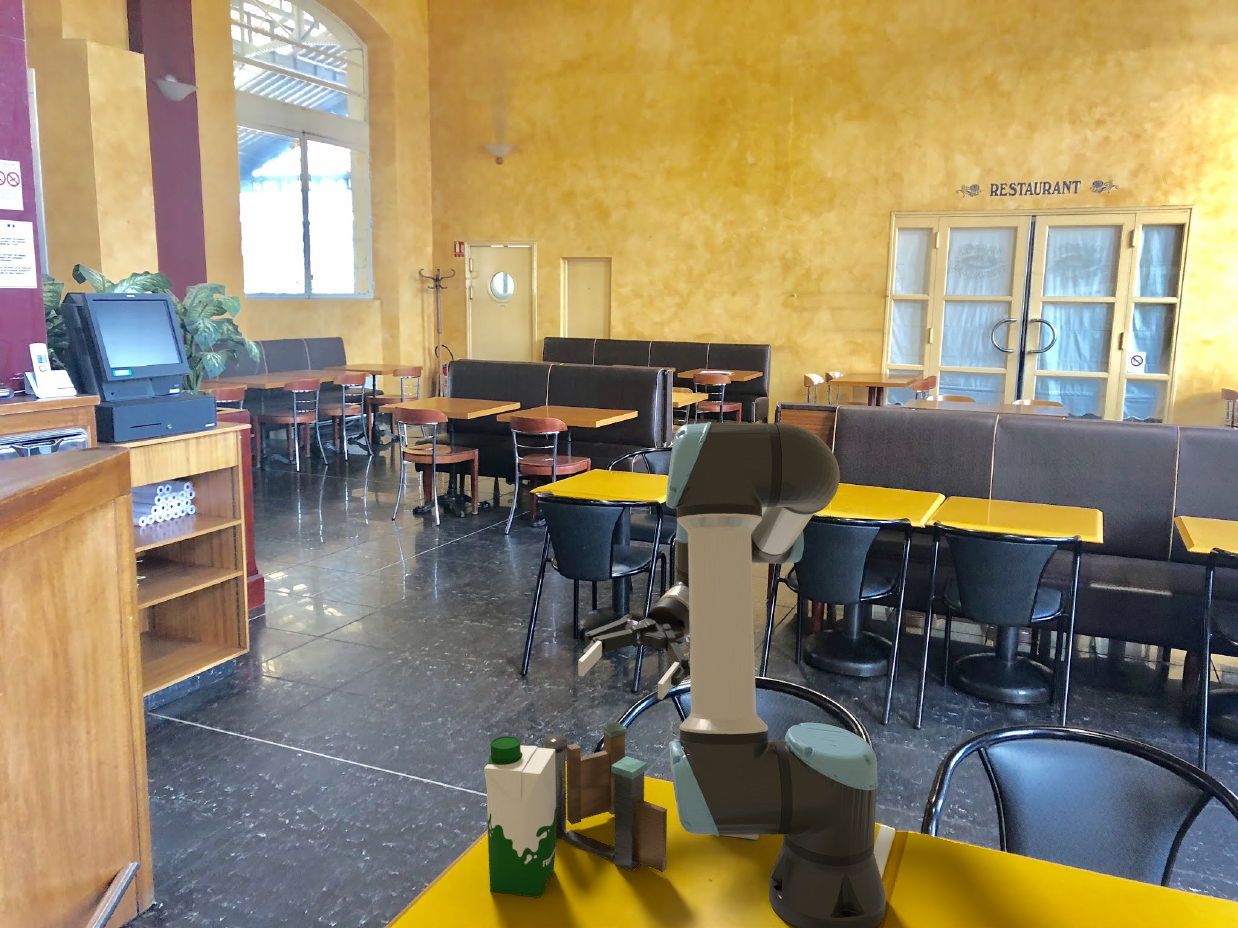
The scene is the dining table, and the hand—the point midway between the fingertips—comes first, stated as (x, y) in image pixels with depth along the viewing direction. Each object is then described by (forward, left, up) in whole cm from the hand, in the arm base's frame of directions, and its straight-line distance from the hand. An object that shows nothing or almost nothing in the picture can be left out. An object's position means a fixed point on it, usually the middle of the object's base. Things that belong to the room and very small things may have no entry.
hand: (619, 679), depth 144 cm
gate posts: (-4, +10, -22) cm, 25 cm away
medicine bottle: (-16, -8, -22) cm, 29 cm away
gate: (+2, +4, -21) cm, 21 cm away
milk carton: (+1, +22, -22) cm, 31 cm away
